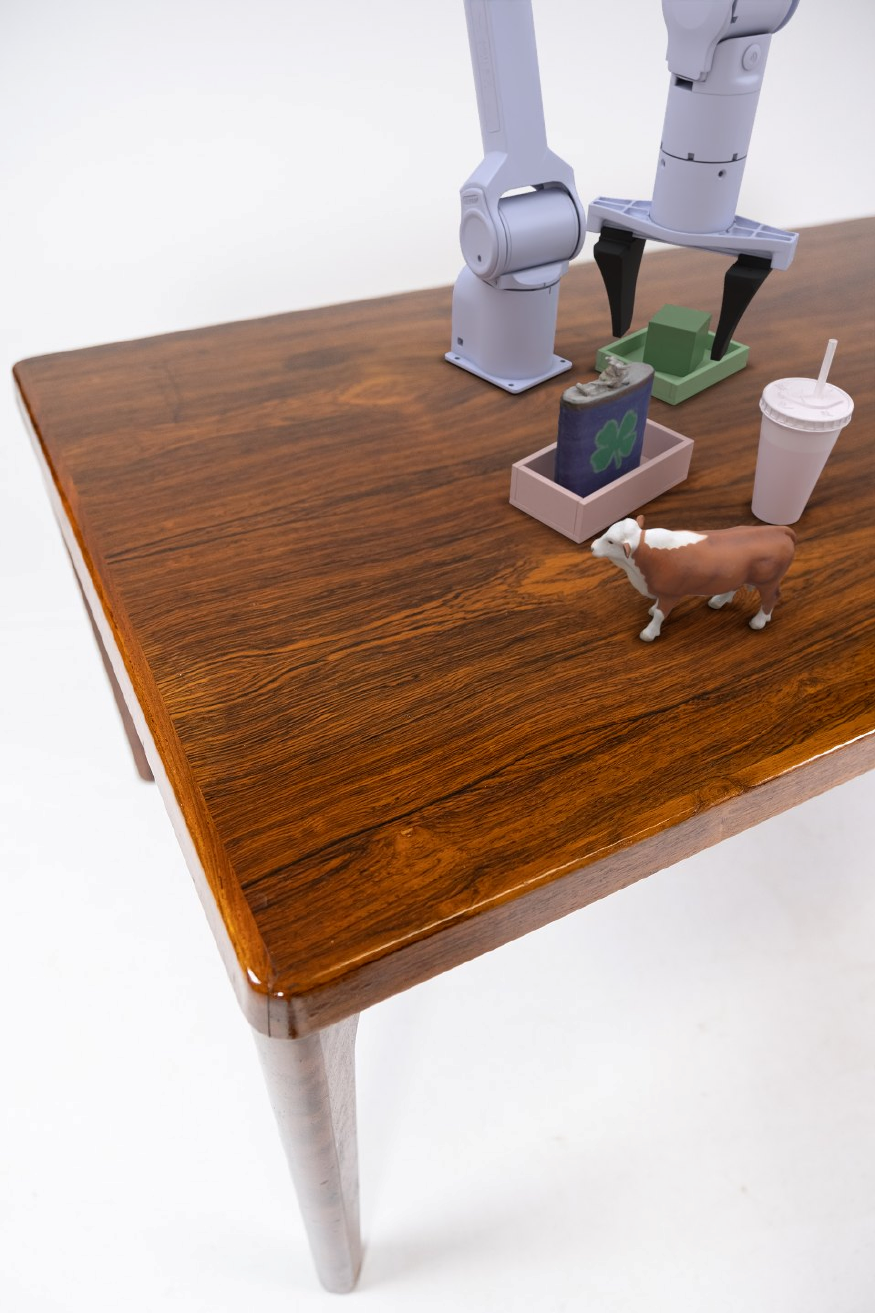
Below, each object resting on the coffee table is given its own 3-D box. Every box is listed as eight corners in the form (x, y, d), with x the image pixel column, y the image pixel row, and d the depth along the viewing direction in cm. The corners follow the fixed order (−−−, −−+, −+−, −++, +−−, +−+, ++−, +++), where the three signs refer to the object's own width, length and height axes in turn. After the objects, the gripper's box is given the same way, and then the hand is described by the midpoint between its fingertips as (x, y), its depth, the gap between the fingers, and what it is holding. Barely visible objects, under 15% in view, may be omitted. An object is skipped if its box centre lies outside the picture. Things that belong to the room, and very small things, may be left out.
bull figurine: (577, 604, 70) (591, 505, 64) (767, 595, 71) (796, 497, 65) (590, 646, 67) (605, 546, 61) (788, 637, 68) (821, 537, 62)
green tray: (594, 369, 95) (597, 349, 94) (667, 334, 101) (671, 315, 100) (673, 405, 90) (677, 385, 89) (745, 366, 96) (750, 346, 95)
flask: (622, 458, 83) (642, 334, 75) (649, 473, 81) (672, 348, 74) (542, 499, 78) (555, 371, 71) (569, 516, 77) (585, 387, 69)
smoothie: (821, 540, 76) (879, 366, 66) (733, 529, 77) (778, 356, 67) (815, 493, 80) (868, 324, 71) (733, 483, 81) (774, 315, 72)
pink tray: (508, 503, 79) (511, 464, 76) (617, 443, 85) (623, 406, 83) (579, 544, 75) (584, 504, 73) (686, 478, 82) (695, 440, 79)
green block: (641, 367, 95) (648, 320, 92) (657, 348, 98) (665, 302, 94) (687, 378, 93) (696, 332, 90) (702, 359, 96) (712, 313, 93)
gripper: (827, 151, 67) (778, 344, 76) (622, 118, 72) (598, 303, 81) (802, 181, 63) (752, 383, 72) (584, 144, 68) (564, 337, 77)
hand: (668, 343), depth 76 cm, fingers open, 7 cm apart
